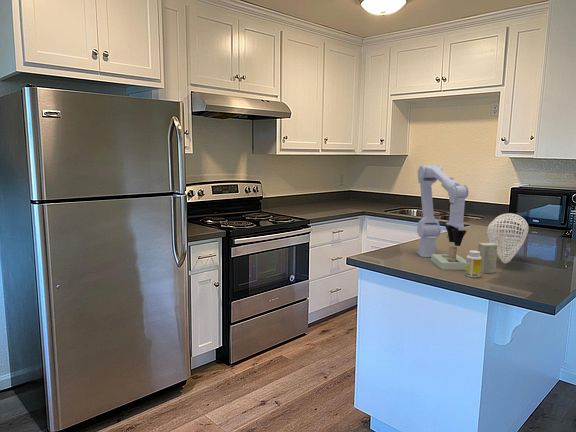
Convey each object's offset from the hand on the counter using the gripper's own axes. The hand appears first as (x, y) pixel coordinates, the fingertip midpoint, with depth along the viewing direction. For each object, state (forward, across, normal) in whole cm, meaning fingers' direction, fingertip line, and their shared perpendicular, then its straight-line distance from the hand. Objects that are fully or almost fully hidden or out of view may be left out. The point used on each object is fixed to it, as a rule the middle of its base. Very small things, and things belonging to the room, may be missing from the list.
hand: (454, 243), depth 188 cm
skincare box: (+10, +7, +11) cm, 17 cm away
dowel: (+10, +1, -1) cm, 10 cm away
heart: (+10, -9, +26) cm, 30 cm away
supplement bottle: (+10, +14, +4) cm, 18 cm away
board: (+10, -3, -1) cm, 11 cm away
